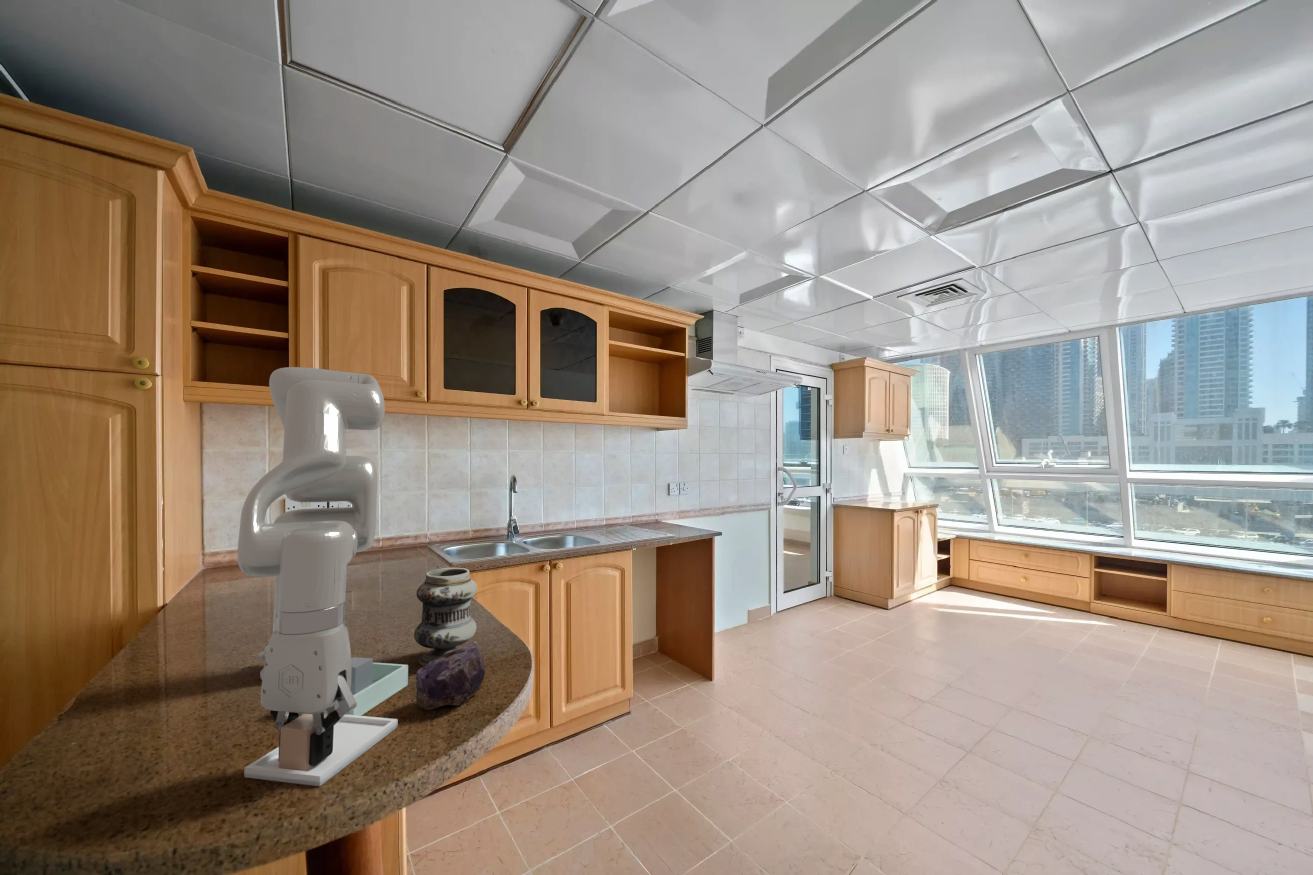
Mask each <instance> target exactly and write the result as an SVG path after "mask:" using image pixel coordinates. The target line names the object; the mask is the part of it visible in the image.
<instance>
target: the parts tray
mask: <svg viewBox="0 0 1313 875" xmlns="http://www.w3.org/2000/svg"><path fill="white" fill-rule="evenodd" d="M398 721H399V720H398V718H389V717H377V716H368V715H367V716H366V715H361V716H358V715H347V714H345V715H344V716H343V717H342V718H341V719H340V720H339V722H338V723H337V724H335V725H334V733H333V752H332V753H331V755H329V756H328V757H326V758H325V759H324V760H322V761H321V762H319V763H318V764H316V765H315V766H313V767H311V768H310V769H309V770H307V771H299V770H290V769H282V768H279V761H278V758H279V746H278V747H276V748H275V749H273V750H271V751H269V752H267V753H266V754H265V755H263V756H261V757H260V758H258V759H256V760H255V761H253V762H251V763H250V764H248V765H247V766H245V767H244V772H243V773H244V774H243V775H244V776H243V778H248V779H255V780H256V779H257V780H265V781H271V782H280V783H288V784H295V785H296V784H297V785H298V784H299V785H305V786H306V785H307V786H314V787H321V786H322V785H324V784H325V783H326V782H328V781H329V780H330V779H331V778H333V777H335V775H337V774H338V773H340V772H341V771H342V770H343V769H345V768H346V767H347V766H349V765H350V764H351V763H352V762H354V761H355V760H356V759H358V758H359V757H360V756H362V755H363V754H364V753H366V752H367V751H368V750H369V749H371V748H372V747H374V746H375V745H376V744H378V743H379V742H380V741H381V740H383V739H384V738H386V737H387V736H388V735H389V734H390V733H392V732H393V731H395V730H397V729H398Z"/></svg>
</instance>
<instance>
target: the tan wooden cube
mask: <svg viewBox="0 0 1313 875" xmlns="http://www.w3.org/2000/svg"><path fill="white" fill-rule="evenodd" d="M326 717H327V714H324V719H325V718H326ZM280 732H281V736H280V735H279V737H280V755H279V768H282V769H290V770H299V771H307V770H309V769H310V768H311V767H313V766H310V765H309V754H310V735H311V734H313V733H315V731H314V723H313V714H304V715H302V716H300V717H298V718H297V719H295V720H293V721H291V722H290V723H288V724H286V725H284V726H283V727H281V730H280Z"/></svg>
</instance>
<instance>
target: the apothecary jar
mask: <svg viewBox="0 0 1313 875" xmlns="http://www.w3.org/2000/svg"><path fill="white" fill-rule="evenodd" d="M477 592H478V585H477V582H476V581H475V580H473V579H472V578H471V575H470V570H469V569H468V568H464V567H443V568H438V569H433V570H430V571H428V572H426V575H425V580H424V582H423V583H422V584H420V586H418V588H417V590H416V597H417V599H418V601H420V602H421V603H422V611H421V612H422V613H421V614H422V615H421V621H420V623H419V624H418V625H417V626H416V628H415V630H414V634H413V637H414V640H415V642H416V643H417V644H418V645H419V646H421V647H422V648H423V647H424V648H426V649H432V650H430V651H428V652H426V653H424V654H423V655H421V657H420V658H419V660H418V663H419V664H420V665H421V666H422V667H424V666H426V665H427V664H428V663H429V662H430V661H434V660H435V659H437V658H438V657H440V656H442V655H443V654H445V653H446V652H448V651H451V650H455V649H457V648H460V647H461V646H462V645H464V644H465V643H466V642H468V641H470V640H471V639H472V637H473V636H474V635H475V634H476V631H477V623H476V621H475V620H474V619H473V618H472V614H471V613H472V612H471V610H472V609H471V608H472V607H471V605H472V598H473V597H474V596H475V595H476V593H477ZM460 645H461V646H460Z"/></svg>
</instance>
